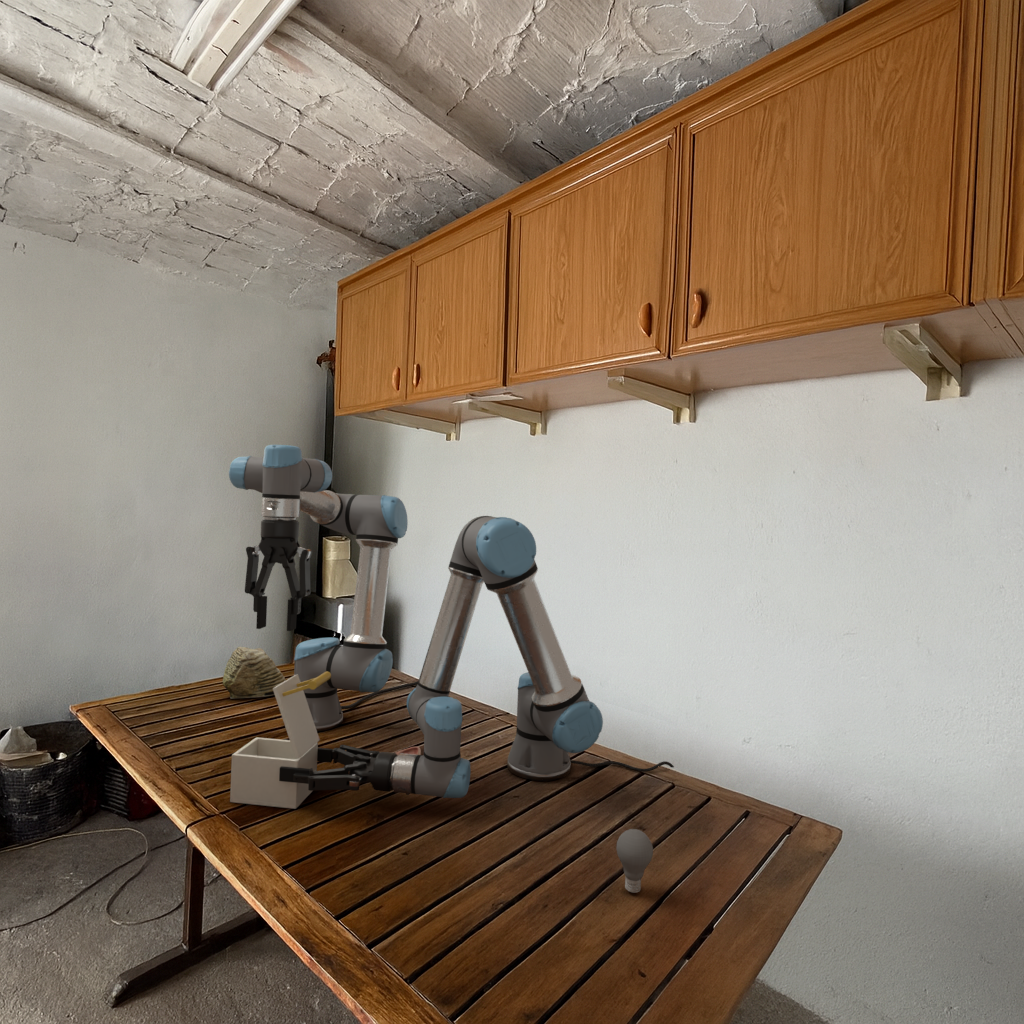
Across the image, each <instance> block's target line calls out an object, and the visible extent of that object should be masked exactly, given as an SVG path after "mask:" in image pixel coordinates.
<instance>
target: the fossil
mask: <svg viewBox="0 0 1024 1024" xmlns="http://www.w3.org/2000/svg"><path fill="white" fill-rule="evenodd" d="M222 676H223V677H222V685H223V687H224V688H225V690H226V691H228V693H229V698H230V699H250V698H264V697H271V696H275V694H274V691H273V688H274V687H276V686H278V685H279V684H281V683H283V682H284V681H286V680H287V679H286V678H285V676H284V674H283V673H282V672H281V669H279V668H278V667H277V665H276V663H275V662H274V660H273V659H272V658H271V657H270V656H269V655H268V654H267V653H266V652H265V650H264V649H263V648H260V647H258V648H251V647H247V646H246V647H245V646H238V647H237V648H236V649H235V650H233V651H232V653H231V656H230V657H229V659H228V660H227V663H226V666H225V668H224V671H223V675H222Z"/></svg>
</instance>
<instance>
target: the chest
mask: <svg viewBox="0 0 1024 1024" xmlns="http://www.w3.org/2000/svg"><path fill="white" fill-rule="evenodd" d="M318 748H319V743H318V742H317V743H316V744H315V745H314V746H313V747H311V748H310V749H309V750H308V751H307V752H306V753H305V754H304V755H303V756H301V757H300V758H298V759H296V757H295V754H294V751H293V748H292V745H291V742H290V739H281V738H269V737H268V738H267V737H257V736H256V737H255V738H253V739H252V740H251V741H249V742H247V743H246V744H244V745H243V746H242V747H241V748H239V749H238V750H237V751H235V752H234V753H232V754H231V766H230V767H231V768H230V770H231V771H230V792H229V793H230V794H229V802H230V803H237V804H244V805H245V804H246V805H253V806H254V805H255V806H266V807H275V808H284V809H292V810H293V809H294V810H296V809H297V808H298V807H299V806H300V805H301V804H302V803H303V802H304V801H305V800H306V799H307V798H308V796H310V795H311V793H312V792H313V791H310V790H308V784H305V783H295V782H284V781H279V773H280V767H281V766H284V767H294V768H306V769H311V768H312V769H313V772H314V771H318V761H317V753H318Z"/></svg>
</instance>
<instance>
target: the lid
mask: <svg viewBox="0 0 1024 1024" xmlns="http://www.w3.org/2000/svg"><path fill="white" fill-rule="evenodd" d="M330 678H331V673H330V672H328V671H326V672H324V673H323V674H321V675H320V676H318V677H316V678H313V679H310V680H307V681H304V682H300V679H299V676H298V674H297V675H294V674H293V675H292V676H291V677H289V678H288V679H285V680H286V681H284V682H283V683H281V684H279V685H278V686H276V687H274V688H273V691H274V694H275V695H274V697H275V700H276V703H277V706H278V709H279V712H280V715H281V718H282V721H283V724H284V727H285V730H286V733H287V736H288V740H290V742H291V745H292V748H293V751H294V754H295V757H296V759H298V758H300V757H301V756H303V755H304V754H305V753H306V752H307V751H308V750H309V749H310V748H311V747H313V746H314V745H315V744H316V743H318V742H320V740H321V739H320V736H319V734H318V732H317V730H316V727H315V724H314V721H313V718H312V715H311V712H310V709H309V706H308V703H307V700H306V697H305V694H304V691H303V690H305V689H308V688H310V689H312V690H314V689H316V688H317V687H319V686H320V685H321V684H323V683H324V682H326V681H327V680H329V679H330ZM306 684H308V685H306ZM303 685H305V686H303Z"/></svg>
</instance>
